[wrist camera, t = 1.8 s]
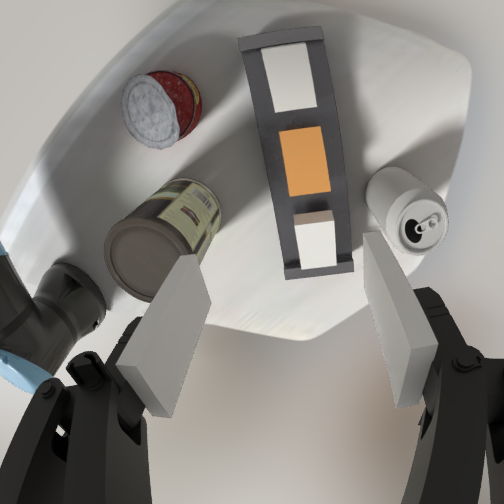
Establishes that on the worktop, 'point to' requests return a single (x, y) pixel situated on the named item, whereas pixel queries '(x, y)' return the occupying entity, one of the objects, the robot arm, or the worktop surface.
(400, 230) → the can
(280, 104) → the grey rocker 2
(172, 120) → the canned food
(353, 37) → the worktop surface
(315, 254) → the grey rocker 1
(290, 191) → the orange rectangular block
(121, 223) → the coffee can
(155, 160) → the worktop surface
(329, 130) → the dark grey tray
